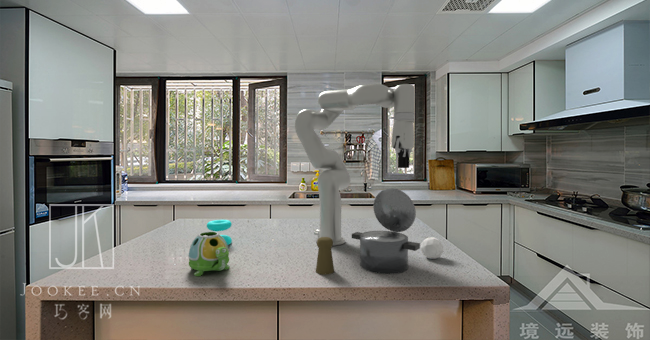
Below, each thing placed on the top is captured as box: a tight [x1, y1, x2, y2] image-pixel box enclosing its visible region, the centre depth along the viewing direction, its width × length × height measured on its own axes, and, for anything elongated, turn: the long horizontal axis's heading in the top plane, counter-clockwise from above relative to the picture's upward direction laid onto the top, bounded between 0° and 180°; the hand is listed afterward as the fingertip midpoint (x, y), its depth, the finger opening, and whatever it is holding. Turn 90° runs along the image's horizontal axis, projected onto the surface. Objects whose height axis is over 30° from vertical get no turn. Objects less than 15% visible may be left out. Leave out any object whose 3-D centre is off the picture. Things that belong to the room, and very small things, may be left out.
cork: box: [315, 237, 335, 276], centre depth 98 cm, size 6×6×11 cm
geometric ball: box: [420, 236, 444, 260], centre depth 111 cm, size 8×8×8 cm
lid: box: [372, 187, 417, 233], centre depth 110 cm, size 16×16×3 cm
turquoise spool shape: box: [206, 219, 233, 246], centre depth 129 cm, size 10×10×10 cm
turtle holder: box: [187, 230, 231, 277], centre depth 98 cm, size 12×18×12 cm
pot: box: [351, 230, 421, 275], centre depth 104 cm, size 24×16×10 cm, turn 50°
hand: (403, 167), depth 114 cm, fingers closed
